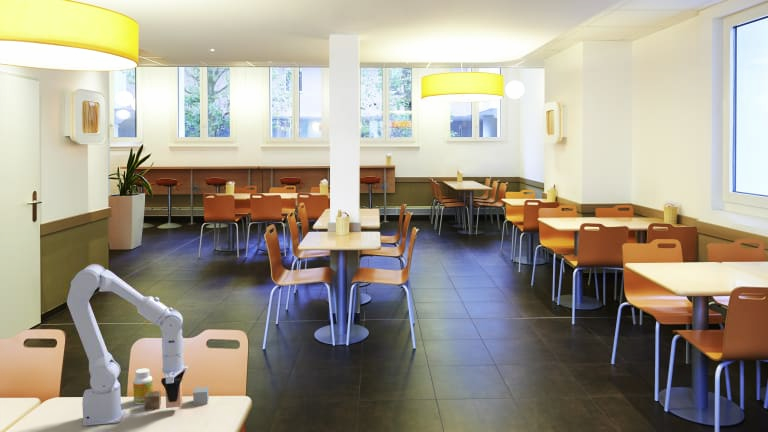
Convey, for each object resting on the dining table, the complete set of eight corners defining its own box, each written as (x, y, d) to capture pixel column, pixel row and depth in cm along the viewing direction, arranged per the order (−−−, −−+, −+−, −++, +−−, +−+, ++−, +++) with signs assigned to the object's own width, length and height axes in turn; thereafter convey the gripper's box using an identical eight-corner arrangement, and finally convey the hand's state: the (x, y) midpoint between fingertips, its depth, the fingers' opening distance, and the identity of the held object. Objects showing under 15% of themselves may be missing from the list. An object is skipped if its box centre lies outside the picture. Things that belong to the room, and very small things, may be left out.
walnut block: (144, 410, 164) (144, 397, 164) (146, 405, 168) (146, 392, 168) (159, 409, 165) (159, 396, 165) (161, 403, 169) (160, 390, 169)
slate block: (193, 405, 168) (193, 392, 167) (195, 400, 172) (194, 387, 171) (207, 404, 169) (207, 391, 168) (208, 399, 172) (208, 386, 172)
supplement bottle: (147, 405, 168) (146, 373, 167) (130, 404, 168) (129, 373, 167) (156, 397, 173) (155, 367, 172) (139, 397, 173) (138, 367, 173)
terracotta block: (166, 408, 161) (165, 384, 160) (168, 402, 165) (167, 379, 164) (180, 406, 162) (179, 383, 161) (182, 401, 166) (181, 378, 165)
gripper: (184, 360, 156) (185, 407, 157) (190, 344, 170) (191, 387, 171) (157, 362, 154) (158, 409, 156) (165, 346, 169) (167, 389, 170)
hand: (174, 398), depth 163 cm, fingers closed on terracotta block, 4 cm apart
